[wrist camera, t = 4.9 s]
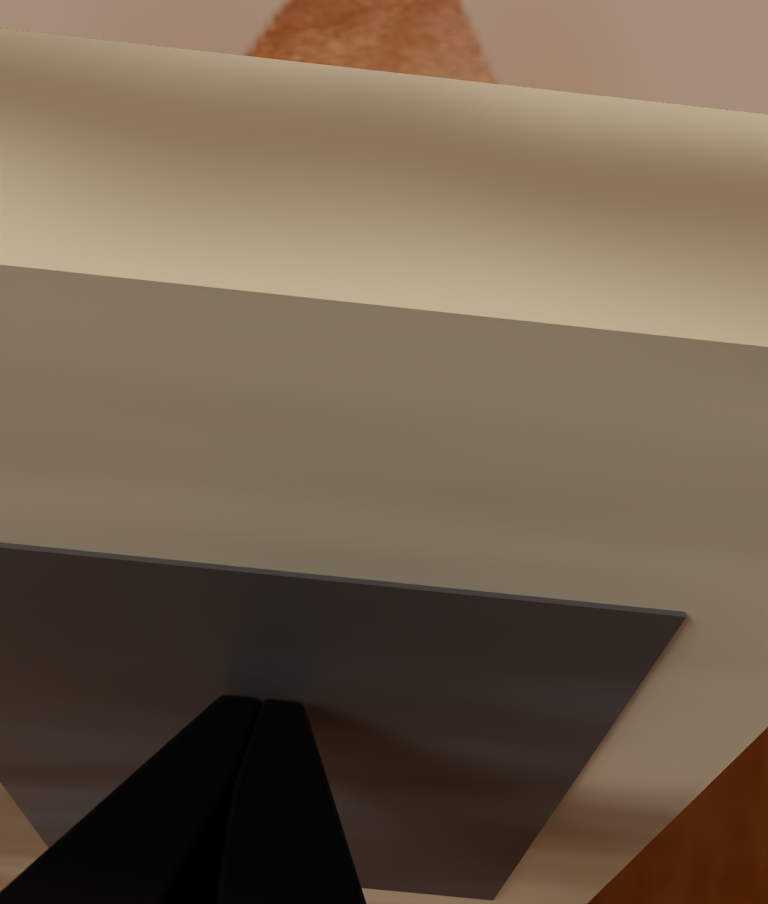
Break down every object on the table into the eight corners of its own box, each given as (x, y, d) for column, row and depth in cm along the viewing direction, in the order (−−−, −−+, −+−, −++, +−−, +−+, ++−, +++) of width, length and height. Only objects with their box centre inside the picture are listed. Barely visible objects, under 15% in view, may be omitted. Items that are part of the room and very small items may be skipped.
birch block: (546, 946, 13) (1124, 389, 4) (7, 896, 12) (-692, 195, 4) (522, 692, 16) (783, 116, 8) (107, 651, 16) (-120, 15, 7)
